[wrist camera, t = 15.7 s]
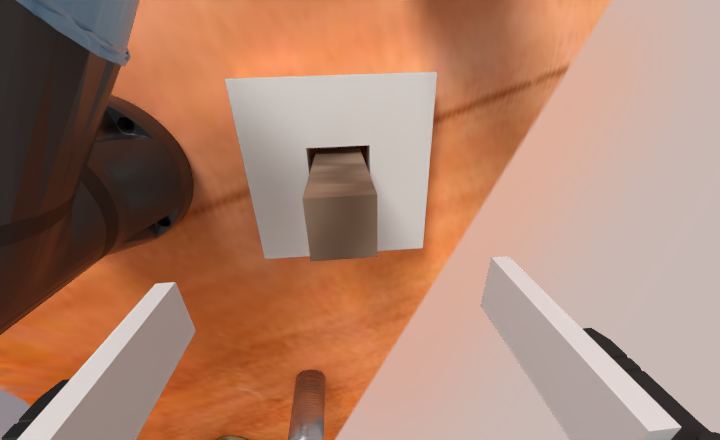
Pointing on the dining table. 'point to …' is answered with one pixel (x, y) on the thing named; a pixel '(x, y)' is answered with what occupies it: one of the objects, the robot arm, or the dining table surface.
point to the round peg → (308, 407)
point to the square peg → (340, 206)
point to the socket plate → (335, 129)
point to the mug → (232, 438)
